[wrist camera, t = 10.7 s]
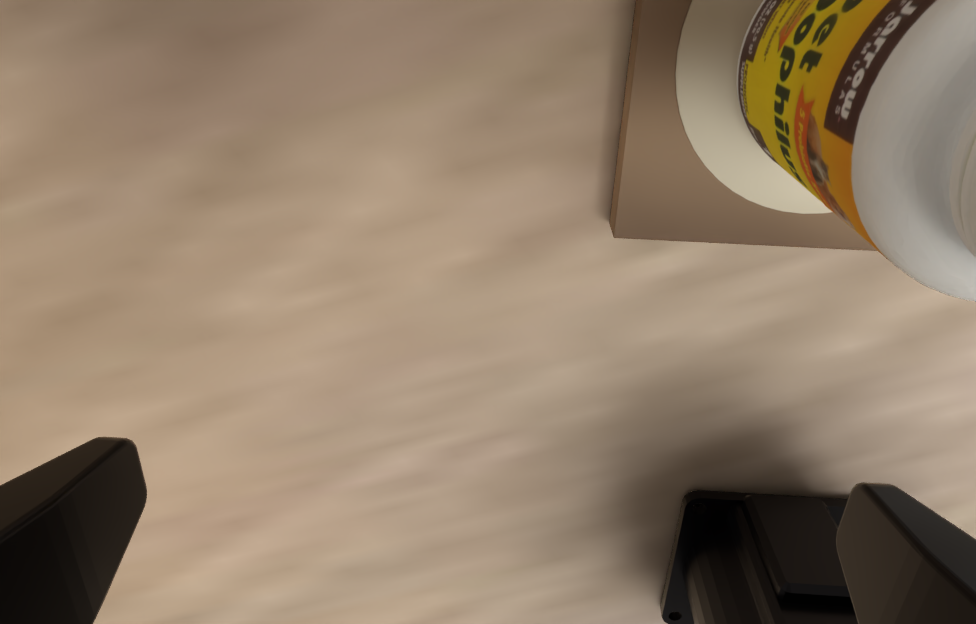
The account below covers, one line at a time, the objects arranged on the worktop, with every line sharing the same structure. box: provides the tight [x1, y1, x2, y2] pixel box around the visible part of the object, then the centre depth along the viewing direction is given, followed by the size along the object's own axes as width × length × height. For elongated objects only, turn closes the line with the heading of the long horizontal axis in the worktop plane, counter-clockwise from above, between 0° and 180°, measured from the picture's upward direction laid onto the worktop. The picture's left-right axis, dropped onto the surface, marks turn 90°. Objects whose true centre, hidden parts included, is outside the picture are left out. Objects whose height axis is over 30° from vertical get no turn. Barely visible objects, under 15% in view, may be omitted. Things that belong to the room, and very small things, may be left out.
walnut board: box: [610, 0, 878, 251], centre depth 18 cm, size 10×10×1 cm
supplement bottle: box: [736, 0, 976, 302], centre depth 13 cm, size 6×6×10 cm
